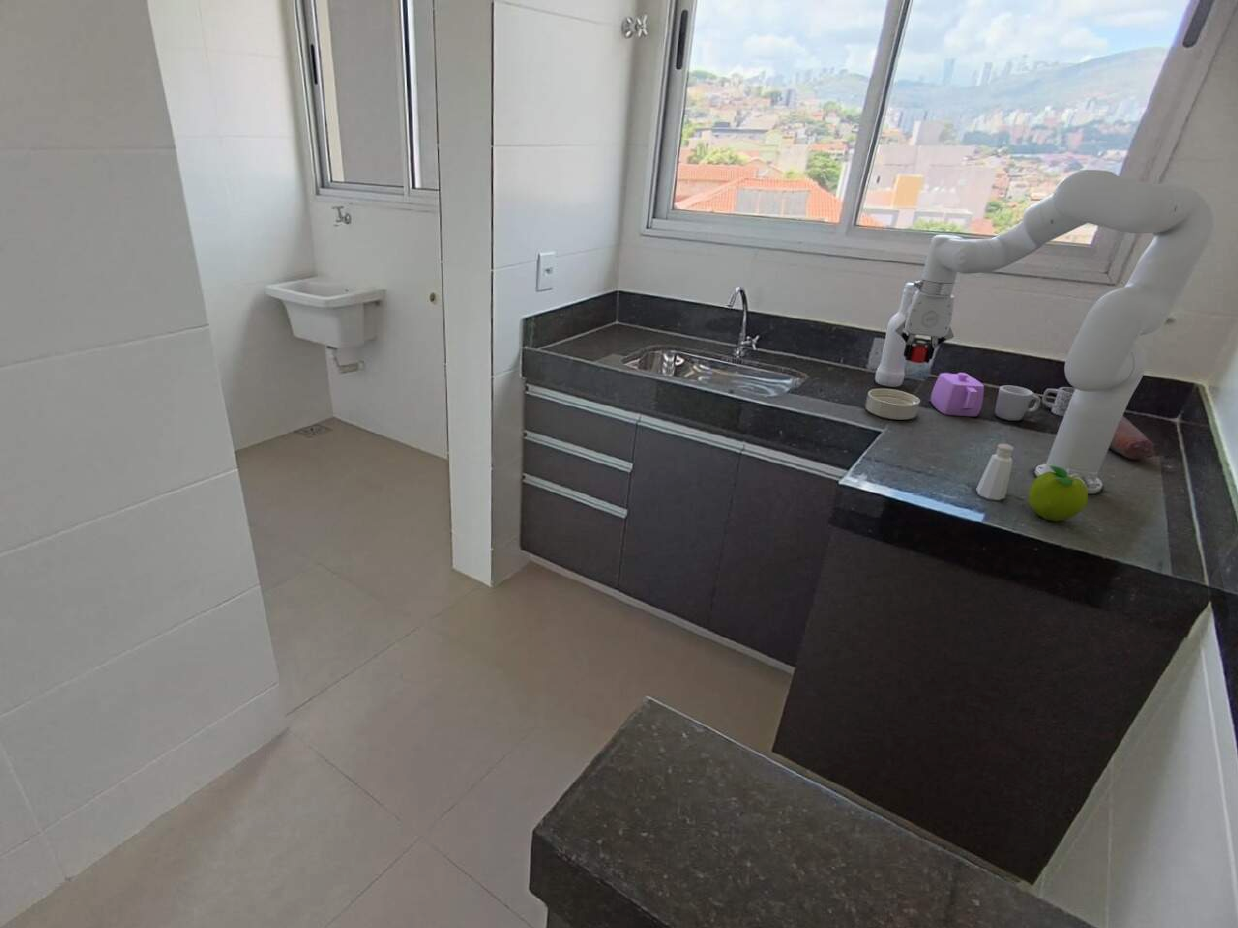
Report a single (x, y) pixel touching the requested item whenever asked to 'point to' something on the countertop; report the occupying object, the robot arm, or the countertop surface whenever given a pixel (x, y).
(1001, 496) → the pepper shaker
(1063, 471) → the fruit
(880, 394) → the bowl
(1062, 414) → the mug
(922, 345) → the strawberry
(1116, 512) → the countertop surface
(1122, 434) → the food
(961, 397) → the teapot
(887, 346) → the bottle
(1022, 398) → the cup
